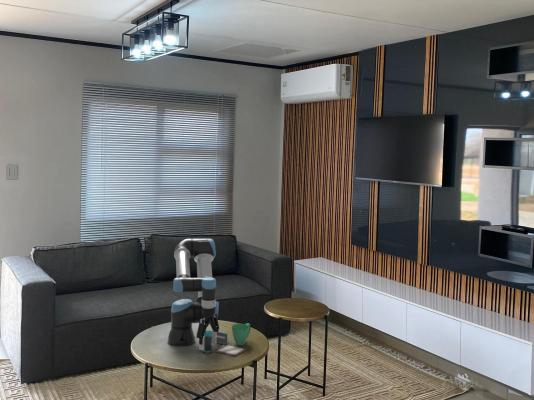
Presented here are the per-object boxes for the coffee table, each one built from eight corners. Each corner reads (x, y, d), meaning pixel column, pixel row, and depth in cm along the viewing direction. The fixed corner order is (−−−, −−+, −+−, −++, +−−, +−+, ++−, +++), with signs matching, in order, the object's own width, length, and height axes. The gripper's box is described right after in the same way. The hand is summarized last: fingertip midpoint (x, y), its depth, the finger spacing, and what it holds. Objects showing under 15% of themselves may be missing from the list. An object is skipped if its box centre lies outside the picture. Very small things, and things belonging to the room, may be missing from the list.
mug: (243, 348, 314) (243, 330, 313) (228, 344, 318) (228, 327, 317) (256, 340, 327) (256, 323, 326) (241, 337, 331) (241, 320, 330)
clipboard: (215, 351, 307) (215, 349, 307) (225, 345, 316) (226, 343, 316) (235, 356, 301) (235, 354, 301) (246, 350, 310) (246, 347, 310)
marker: (202, 352, 305) (202, 332, 304) (206, 350, 309) (207, 330, 308) (208, 354, 303) (209, 333, 302) (213, 351, 307) (213, 331, 306)
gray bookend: (213, 342, 322) (213, 331, 321) (216, 340, 324) (216, 330, 324) (225, 344, 318) (225, 334, 317) (228, 343, 320) (228, 332, 320)
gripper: (201, 313, 292) (201, 354, 294) (226, 302, 312) (225, 341, 314) (189, 311, 295) (189, 351, 297) (214, 300, 316) (214, 339, 318)
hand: (207, 346), depth 306 cm, fingers open, 11 cm apart
